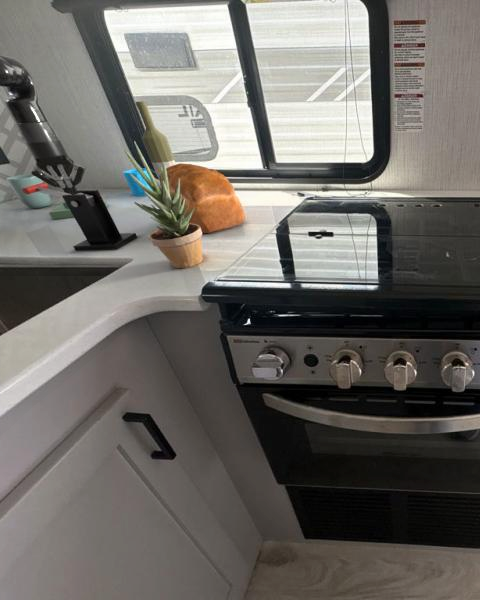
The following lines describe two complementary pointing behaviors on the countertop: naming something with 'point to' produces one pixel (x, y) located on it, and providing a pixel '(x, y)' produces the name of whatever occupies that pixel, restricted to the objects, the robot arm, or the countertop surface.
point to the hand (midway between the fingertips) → (75, 199)
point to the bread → (206, 197)
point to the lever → (52, 192)
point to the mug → (132, 184)
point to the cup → (29, 199)
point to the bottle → (155, 142)
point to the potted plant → (170, 219)
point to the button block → (63, 211)
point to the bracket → (95, 223)
